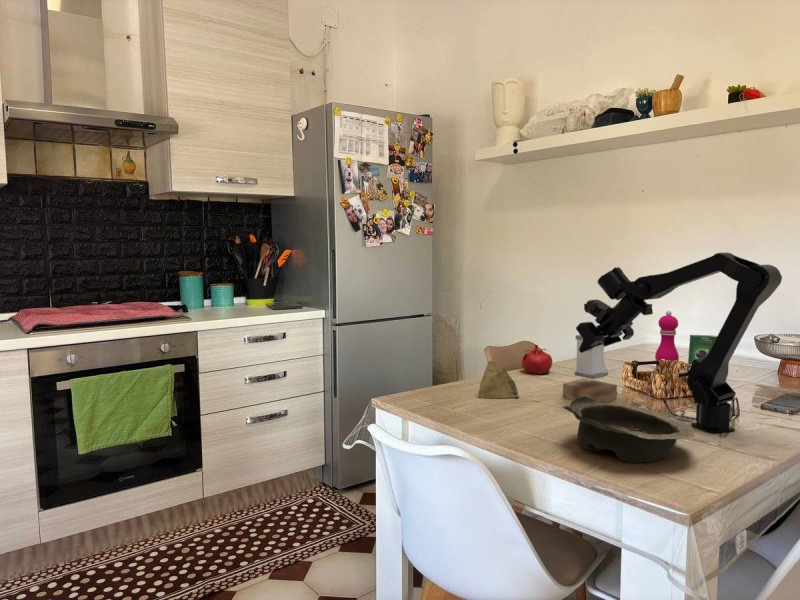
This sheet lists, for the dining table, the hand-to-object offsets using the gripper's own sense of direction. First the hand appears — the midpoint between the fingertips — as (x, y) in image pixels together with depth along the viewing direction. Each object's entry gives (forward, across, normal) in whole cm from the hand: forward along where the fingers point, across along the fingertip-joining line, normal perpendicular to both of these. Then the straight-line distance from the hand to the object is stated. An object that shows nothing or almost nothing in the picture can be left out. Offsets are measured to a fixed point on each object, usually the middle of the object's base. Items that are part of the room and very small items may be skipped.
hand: (586, 350), depth 162 cm
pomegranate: (+30, -15, -12) cm, 36 cm away
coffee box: (+5, -53, +14) cm, 55 cm away
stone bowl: (-11, +28, +31) cm, 43 cm away
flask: (+21, -30, -2) cm, 37 cm away
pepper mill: (+13, -52, +6) cm, 54 cm away
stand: (+9, 0, +10) cm, 13 cm away
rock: (+20, +18, -1) cm, 27 cm away
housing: (+4, 0, +6) cm, 7 cm away
